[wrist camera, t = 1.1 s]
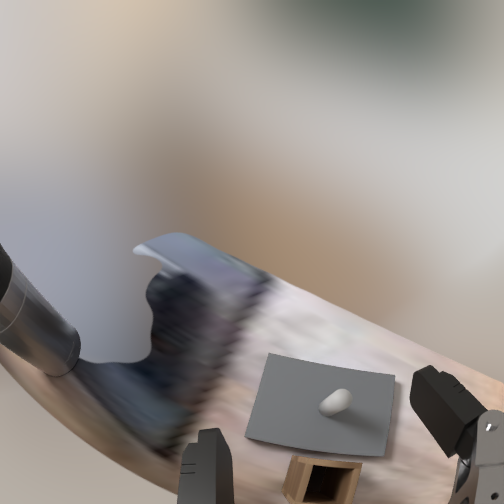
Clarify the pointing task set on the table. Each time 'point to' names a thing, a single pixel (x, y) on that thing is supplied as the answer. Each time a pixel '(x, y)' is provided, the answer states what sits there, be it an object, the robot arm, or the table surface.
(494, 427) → the robot arm
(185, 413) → the table surface
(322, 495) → the sleeve
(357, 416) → the plate
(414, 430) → the table surface
